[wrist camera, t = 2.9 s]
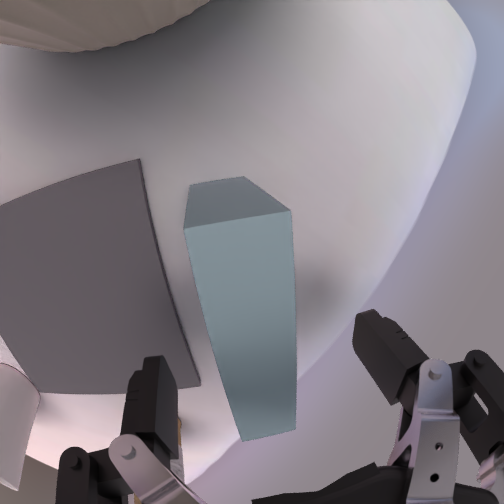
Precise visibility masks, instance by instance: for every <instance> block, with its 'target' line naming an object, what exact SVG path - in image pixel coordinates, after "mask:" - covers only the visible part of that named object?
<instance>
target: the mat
mask: <svg viewBox="0 0 504 504" xmlns="http://www.w3.org/2000/svg"><path fill="white" fill-rule="evenodd" d="M0 335H1V337H2V338H3V340H4V342H5V343H6V345H7V347H8V348H9V350H10V351H11V353H12V354H13V356H14V357H15V359H16V360H17V362H18V363H19V365H20V366H21V368H22V369H23V370H24V372H25V373H26V375H27V376H28V377H29V379H30V380H31V381H32V383H33V384H34V385H35V386H36V388H37V389H38V390H39V392H44V393H60V394H125V393H127V388H128V383H129V379H130V378H131V376H132V375H133V373H134V372H135V371H137V370H142V367H143V361H144V358H145V357H150V356H158V355H163V356H164V357H165V359H166V361H167V364H168V366H169V368H170V370H171V372H172V374H173V376H174V378H175V381H176V385H177V389H183V388H191V387H198V386H201V382H200V378H199V376H198V373H197V370H196V368H195V365H194V362H193V360H192V357H191V354H190V351H189V349H188V346H187V343H186V340H185V337H184V334H183V331H182V328H181V325H180V322H179V319H178V316H177V313H176V309H175V306H174V303H173V300H172V296H171V293H170V289H169V286H168V283H167V279H166V275H165V272H164V268H163V264H162V261H161V257H160V253H159V249H158V245H157V241H156V237H155V233H154V228H153V224H152V220H151V215H150V210H149V206H148V201H147V196H146V191H145V186H144V180H143V175H142V169H141V163H140V159H137V160H133V161H128V162H125V163H121V164H117V165H113V166H109V167H106V168H102V169H99V170H95V171H92V172H89V173H85V174H82V175H79V176H76V177H73V178H70V179H67V180H64V181H61V182H58V183H55V184H53V185H50V186H47V187H44V188H42V189H39V190H37V191H34V192H32V193H29V194H27V195H24V196H22V197H19V198H17V199H15V200H12V201H10V202H8V203H6V204H3V205H1V206H0Z"/></svg>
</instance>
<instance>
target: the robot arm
mask: <svg viewBox="0 0 504 504" xmlns="http://www.w3.org/2000/svg"><path fill="white" fill-rule="evenodd" d="M352 340H353V341H352V342H353V348H354V351H355V353H356V354H357V356H358V357H359V359H360V360H361V362H362V363H363V365H364V366H365V368H366V369H367V370H368V372H369V373H370V375H371V376H372V378H373V379H374V381H375V382H376V384H377V385H378V387H379V388H380V390H381V391H382V393H383V394H384V396H385V397H386V399H387V400H388V402H389V404H390V405H393V404H395V403H398V402H400V403H401V404H402V407H401V411H400V418H399V423H398V429H397V434H396V439H395V444H394V447H393V450H392V452H391V454H390V457H389V459H388V463H387V466H380V467H377V466H376V464H375V463H371V464H369V465H367V466H365V467H362V468H360V469H358V470H355V471H353V472H350V473H348V474H346V475H345V476H343V477H341V478H340V479H338V480H337V481H335V482H333V483H332V484H330V485H328V486H327V487H325V488H323V489H322V490H319V491H316V492H304V493H283V494H279V495H274V496H270V497H265V498H259V499H254V500H252V504H504V373H503V371H502V370H501V369H500V368H499V367H498V366H497V364H496V363H495V362H494V361H493V360H492V359H491V358H490V357H489V356H488V355H487V354H486V353H485V352H483V351H481V350H472V351H470V352H468V353H467V355H466V357H465V359H464V361H461V362H457V363H453V364H447V363H446V362H444V361H443V360H440V359H429V357H428V356H427V355H426V354H425V353H424V352H423V351H422V350H421V349H420V348H419V346H418V345H417V344H416V343H415V342H414V341H413V340H412V339H411V338H410V337H408V335H407V334H406V332H405V331H403V329H402V328H401V327H400V326H399V325H398V324H397V323H396V322H395V321H393V320H391V319H389V318H387V317H384V318H382V317H381V316H380V315H379V313H378V312H377V311H376V310H374V309H371V310H368V311H365V312H361V313H358V314H357V315H356V318H355V326H354V332H353V339H352ZM475 393H477V394H478V396H479V397H480V398H481V399H482V401H483V402H484V404H485V405H486V407H487V408H488V412H489V413H488V415H487V414H486V412H485V411H484V410H483V408H482V407H481V405H480V404H479V403H478V401H477V400H476V399H475V397H474V394H475ZM460 433H461V435H462V436H463V438H464V440H465V441H466V443H467V445H468V446H469V448H470V450H471V451H472V453H473V454H474V456H475V458H476V459H477V461H478V463H479V465H480V468H479V473H478V474H477V477H476V479H477V481H478V482H479V483H481V488H476V487H472V486H467V485H462V484H459V483H455V480H456V472H457V464H458V453H459V438H460ZM173 459H179V449H178V390H177V385H176V381H175V378H174V376H173V374H172V372H171V370H170V368H169V366H168V364H167V361H166V359H165V357H164V356H163V355H158V356H150V357H145V358H144V361H143V367H142V370H137V371H135V372H134V373H133V375H132V376H131V378H130V379H129V383H128V388H127V394H126V402H125V406H124V412H123V419H122V426H121V433H120V436H118V437H117V438H115V439H114V440H113V441H112V442H111V444H110V446H109V448H106V449H103V450H99V451H94V452H90V453H87V452H86V451H85V450H83V449H82V448H79V447H70V448H68V449H66V450H65V451H64V452H63V453H62V455H61V457H60V461H59V469H58V478H57V488H56V503H55V504H128V494H133V493H135V494H136V496H137V497H138V498H139V499H140V501H141V503H142V504H207V503H206V502H205V501H203V500H202V499H201V498H200V497H199V496H198V495H196V493H194V492H193V491H192V490H191V489H190V488H189V487H188V486H187V485H186V484H185V483H184V482H183V481H182V480H181V479H180V478H179V477H178V476H177V475H176V474H175V473H174V472H173V471H172V470H171V467H170V460H173Z"/></svg>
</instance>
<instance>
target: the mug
mask: <svg viewBox="0 0 504 504" xmlns="http://www.w3.org/2000/svg"><path fill="white" fill-rule="evenodd" d="M39 402H40V395H39V393H38V391H37V389H36V388H35V386H34V385H33V384H32V383H31V382H30V381H29V380H28V379H27V378H26V377H25V376H24V375H23V374H21V373H20V372H19V371H17V370H16V369H14V368H13V367H11V366H8V365H6V364H0V483H2V484H3V485H5V486H7V487H9V488H11V489H13V490H16V491H18V489H19V483H20V478H21V473H22V468H23V462H24V458H25V453H26V449H27V444H28V440H29V436H30V433H31V429H32V426H33V422H34V419H35V415H36V412H37V408H38V405H39Z"/></svg>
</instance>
